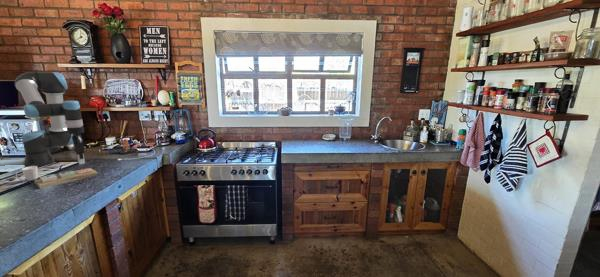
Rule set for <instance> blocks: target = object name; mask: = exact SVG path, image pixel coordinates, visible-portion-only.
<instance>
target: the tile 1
mask: <svg viewBox="0 0 600 277" xmlns="http://www.w3.org/2000/svg"><path fill="white" fill-rule="evenodd" d="M56 175H57V174H54V173H52V174H48V175H43V176H39V179H40V181H41V182H42V183H44V182H49V181H53V180H57V176H56Z"/></svg>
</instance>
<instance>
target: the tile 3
mask: <svg viewBox="0 0 600 277" xmlns="http://www.w3.org/2000/svg"><path fill="white" fill-rule="evenodd" d="M83 169H84V170H82V169H79V170H80V171H78V170H75V171H76V173H77V174H79V175H80V174H84V173H88V172H91V170H89V169H87V168H83Z"/></svg>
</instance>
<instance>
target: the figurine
mask: <svg viewBox="0 0 600 277" xmlns="http://www.w3.org/2000/svg"><path fill="white" fill-rule="evenodd" d="M120 145H121V146H122V149H121V150H118V154H120V155H122V156H123V155H129V154H135V152H136V153H137V150H136V149H134V148H131V145H130V142H129V140H128V139H126V138H123V139H122V140H121V142H120Z"/></svg>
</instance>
